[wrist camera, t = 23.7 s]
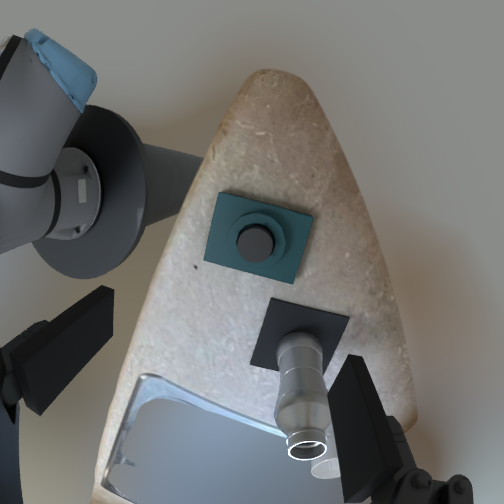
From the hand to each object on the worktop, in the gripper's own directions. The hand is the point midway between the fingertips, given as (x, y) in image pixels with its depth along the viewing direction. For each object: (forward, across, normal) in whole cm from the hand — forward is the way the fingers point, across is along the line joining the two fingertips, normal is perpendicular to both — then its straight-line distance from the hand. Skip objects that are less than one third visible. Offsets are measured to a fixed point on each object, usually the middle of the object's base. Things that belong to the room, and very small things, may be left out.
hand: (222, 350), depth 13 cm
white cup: (+26, +23, -33) cm, 48 cm away
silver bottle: (+26, +10, -14) cm, 31 cm away
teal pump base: (+26, 0, 0) cm, 26 cm away
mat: (+26, +10, -14) cm, 31 cm away
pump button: (+23, 0, 0) cm, 23 cm away
